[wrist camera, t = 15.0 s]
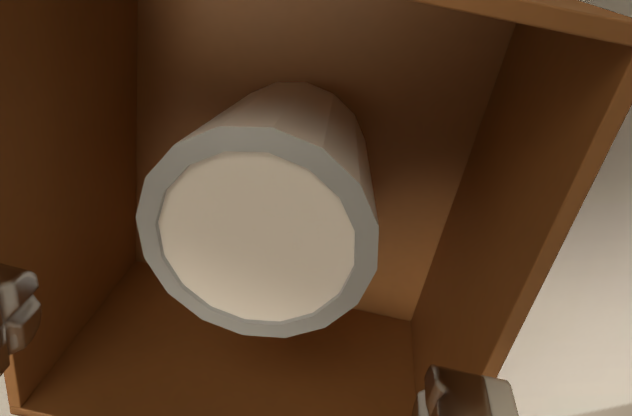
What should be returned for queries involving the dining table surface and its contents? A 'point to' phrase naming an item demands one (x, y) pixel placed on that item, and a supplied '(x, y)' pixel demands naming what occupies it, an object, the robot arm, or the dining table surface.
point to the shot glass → (265, 214)
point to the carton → (385, 169)
